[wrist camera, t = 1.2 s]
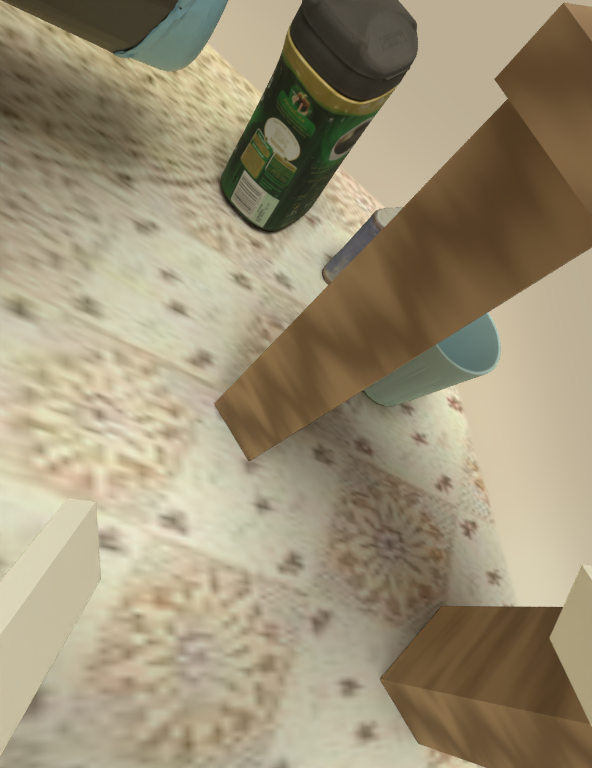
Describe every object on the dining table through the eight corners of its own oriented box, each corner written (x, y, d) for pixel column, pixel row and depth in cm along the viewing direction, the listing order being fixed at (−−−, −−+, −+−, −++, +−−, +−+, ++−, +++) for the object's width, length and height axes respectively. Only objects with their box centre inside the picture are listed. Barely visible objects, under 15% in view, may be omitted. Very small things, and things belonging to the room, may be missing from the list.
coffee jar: (266, 149, 50) (372, -49, 35) (319, 206, 50) (447, 37, 35) (202, 181, 44) (295, -37, 29) (262, 246, 45) (385, 65, 30)
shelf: (192, 415, 35) (575, -12, 11) (308, 356, 42) (704, 15, 18) (401, 767, 33) (1504, 1245, 8) (488, 644, 40) (1235, 710, 15)
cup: (387, 331, 48) (465, 273, 40) (427, 398, 47) (516, 354, 39) (333, 355, 44) (407, 297, 35) (376, 430, 43) (463, 389, 34)
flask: (325, 288, 46) (395, 215, 38) (316, 261, 47) (383, 184, 39) (397, 288, 51) (473, 224, 43) (388, 264, 52) (461, 196, 43)
